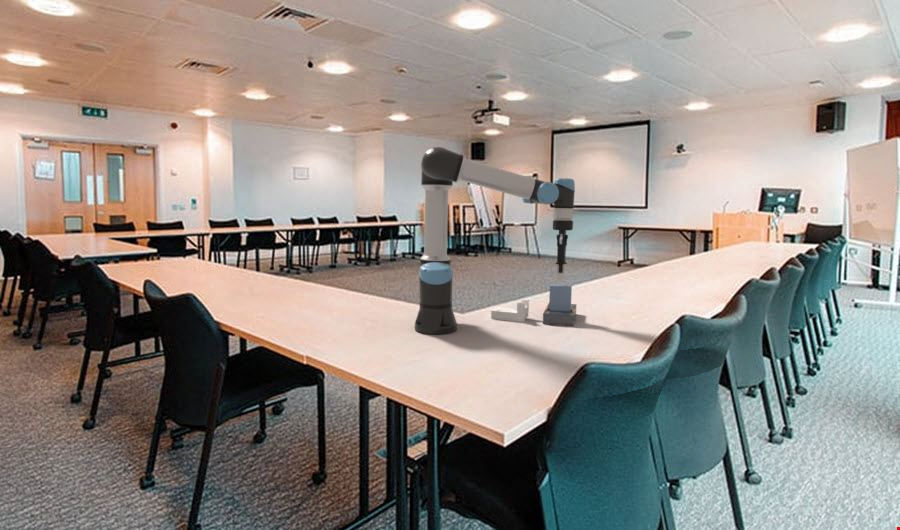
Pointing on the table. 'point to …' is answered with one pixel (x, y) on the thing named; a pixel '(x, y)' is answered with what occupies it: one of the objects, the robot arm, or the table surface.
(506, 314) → the bracket
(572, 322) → the rack
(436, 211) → the robot arm
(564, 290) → the panel
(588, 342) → the table surface
